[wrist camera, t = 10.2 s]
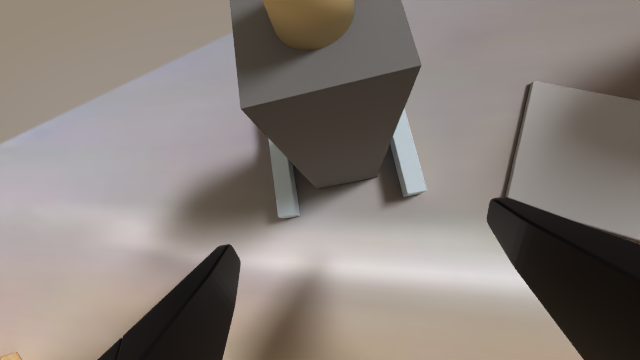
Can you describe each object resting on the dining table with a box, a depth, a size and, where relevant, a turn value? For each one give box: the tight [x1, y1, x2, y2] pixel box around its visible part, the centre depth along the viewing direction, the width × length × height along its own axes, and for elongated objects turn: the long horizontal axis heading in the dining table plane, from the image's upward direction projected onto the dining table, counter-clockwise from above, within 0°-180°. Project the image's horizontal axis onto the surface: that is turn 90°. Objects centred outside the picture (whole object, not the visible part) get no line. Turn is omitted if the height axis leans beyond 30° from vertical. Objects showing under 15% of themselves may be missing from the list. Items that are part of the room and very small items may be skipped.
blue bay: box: [268, 109, 427, 219], centre depth 17 cm, size 9×10×2 cm
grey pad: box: [505, 81, 640, 241], centre depth 15 cm, size 9×9×1 cm
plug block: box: [230, 0, 421, 189], centre depth 11 cm, size 4×4×14 cm
